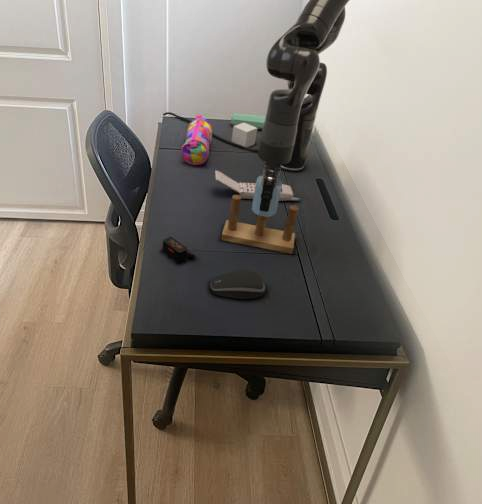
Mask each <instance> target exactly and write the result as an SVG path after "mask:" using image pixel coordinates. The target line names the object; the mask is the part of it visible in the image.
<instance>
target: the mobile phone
mask: <svg viewBox="0 0 482 504" xmlns="http://www.w3.org/2000/svg"><path fill="white" fill-rule="evenodd" d="M214 178H215V179H214V180H215V181H217V182H219V183H221V184H223V185H224V186H225V187H227V188H229V189H230V190H233V191H234V192H236V193H238V195H239V196H241V199H245V200H246V199H247V200H253V198H254V193H255V187H256V182H238V181H236V180H235V179H233V178H230V177H229V176H228V175H226V174H224V173H223V172H221V171H220V170H216V169H215V171H214ZM287 201H289V202H290V201H291V202H294V201H295V202H296V201H298V202H299V201H300V198H299V197H294V193H293V190H292V187H291V185H289V184H283V183H282V187H281V192H280V197H279V201H278V202H287Z"/></svg>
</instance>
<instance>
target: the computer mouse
mask: <svg viewBox="0 0 482 504" xmlns="http://www.w3.org/2000/svg"><path fill="white" fill-rule="evenodd" d="M209 285H210V290H211V292H212V294H214V295H215V296H218V297H223V298H229V299H238V300H251V299H257V298H260V297H263V296H264V295H265V293H266V285H265V283H264V281H263V279H262V277H261V276H260V275H259V274H258V273H256V272H255V271H253V270H250V269H245V268H241V269H234V270H231V271H229V272H226V273H223V274H220V275H217V276H214V277H212V278H211V280H210V284H209Z"/></svg>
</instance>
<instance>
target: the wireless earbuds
mask: <svg viewBox="0 0 482 504" xmlns="http://www.w3.org/2000/svg"><path fill="white" fill-rule="evenodd" d="M162 251H163V253H165V254H166V255H168V257H170V258H171V259H173V260H174V261H175V262H177V263H183V262H184V261H186V260H187V258H188V259H189V260H191V259H196V255H195V254H194V253H193V251H190V250H188V247H186V246H185V245H184V244H182V243H181V242H179V241H178V240H177V239H176V238H174V237H173V236H168V237H166V238H164V239H162Z"/></svg>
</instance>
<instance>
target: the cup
mask: <svg viewBox="0 0 482 504" xmlns="http://www.w3.org/2000/svg"><path fill="white" fill-rule="evenodd" d="M262 179H263V175H260V176H258V177H257V178H256V182H255V183H256V187H255V193H254V198H253V199H252V205H251V211H252V212H253V213H254V214H255V215H257V216H258V215H260V216H264V217H267V218H268V217H273V216H275V215H276V214H277V210H278V206H279V202H280V201H279V197H280V192H281V187H282V184H283V181H282V180H281V179H280V178H279V177H278V180H277V185H276V188H275V189H273V194H272V195H273V197H272V199H271V201H270V206H269V211H268V212H264V211H260V209H259V208H260V203H261V197H260V196H261V193H262V189H263V187H262V186H261V184H262ZM264 192H266V193H270V194H271V192H269V191H264Z"/></svg>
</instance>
